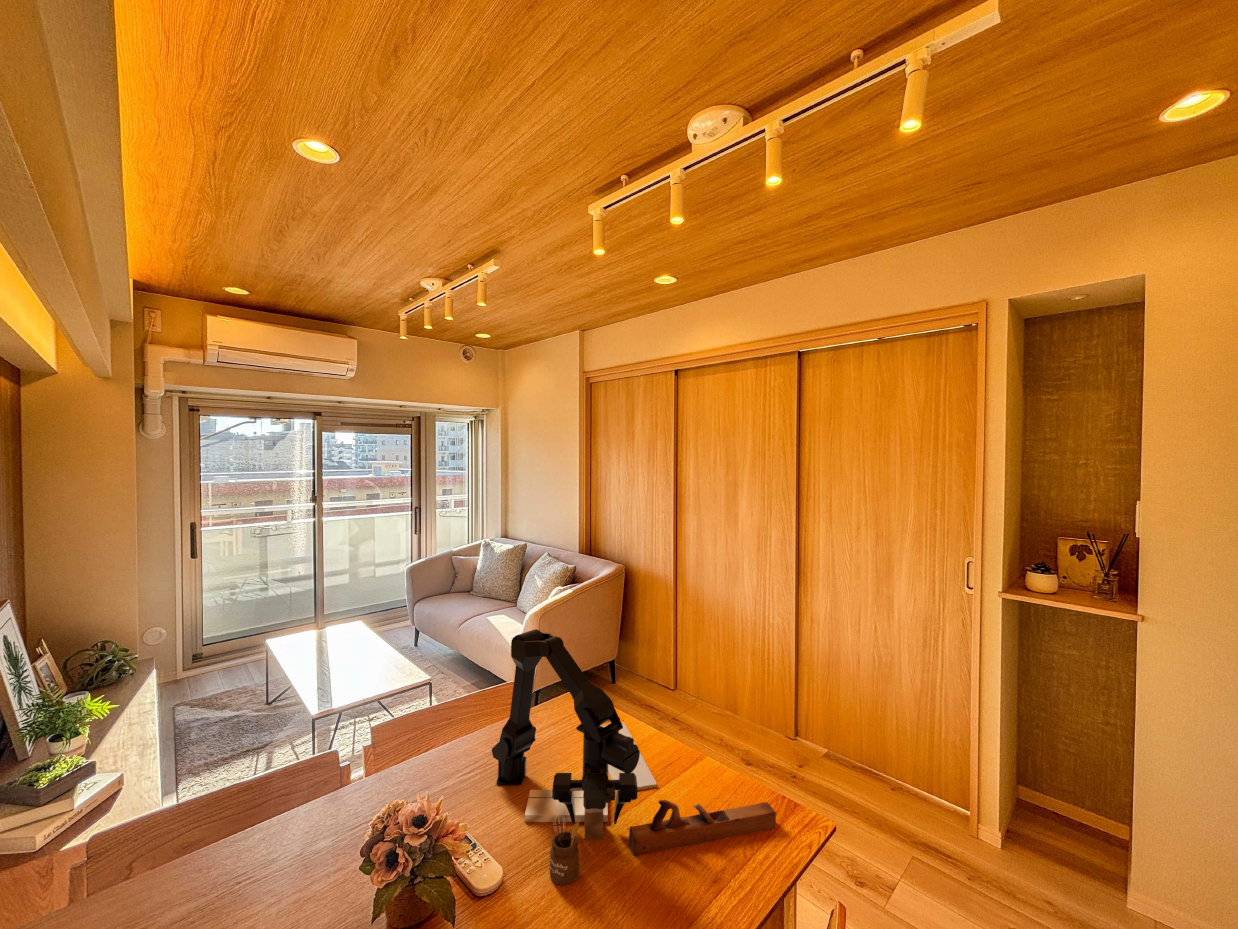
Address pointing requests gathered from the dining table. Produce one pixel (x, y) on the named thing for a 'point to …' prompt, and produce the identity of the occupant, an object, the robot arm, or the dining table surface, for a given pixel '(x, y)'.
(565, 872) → the utensil holder
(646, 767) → the baseboard molding
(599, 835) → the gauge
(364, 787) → the dining table surface
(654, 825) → the hand plane
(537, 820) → the board
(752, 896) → the dining table surface
